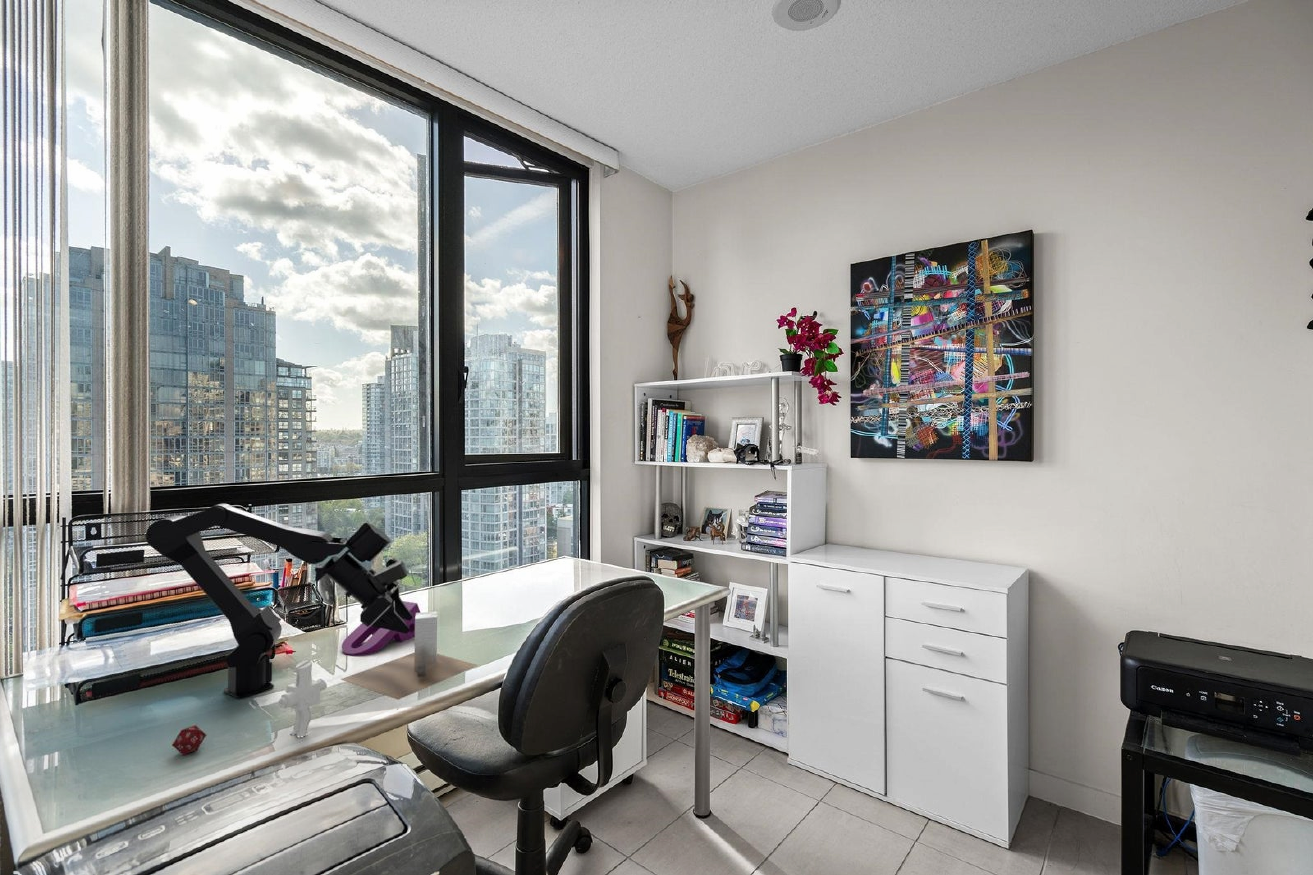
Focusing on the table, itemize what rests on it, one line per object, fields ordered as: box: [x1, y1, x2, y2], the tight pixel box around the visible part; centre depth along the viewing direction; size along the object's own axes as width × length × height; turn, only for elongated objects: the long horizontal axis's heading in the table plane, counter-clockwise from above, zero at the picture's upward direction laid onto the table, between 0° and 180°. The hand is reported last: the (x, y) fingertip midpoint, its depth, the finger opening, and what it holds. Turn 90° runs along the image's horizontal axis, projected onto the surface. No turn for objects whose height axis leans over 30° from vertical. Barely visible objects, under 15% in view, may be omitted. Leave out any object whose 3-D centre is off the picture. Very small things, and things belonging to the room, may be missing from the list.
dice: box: [171, 725, 207, 756], centre depth 96 cm, size 4×4×4 cm
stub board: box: [341, 651, 478, 700], centre depth 126 cm, size 20×18×4 cm
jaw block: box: [414, 610, 438, 670], centre depth 130 cm, size 4×4×11 cm
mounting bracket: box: [341, 600, 422, 656], centre depth 145 cm, size 10×8×18 cm
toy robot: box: [278, 660, 328, 737], centre depth 103 cm, size 4×8×12 cm, turn 155°
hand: (410, 625), depth 129 cm, fingers open, 9 cm apart
